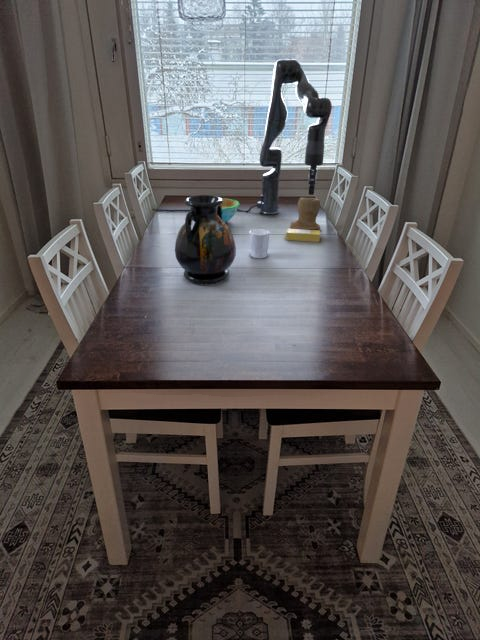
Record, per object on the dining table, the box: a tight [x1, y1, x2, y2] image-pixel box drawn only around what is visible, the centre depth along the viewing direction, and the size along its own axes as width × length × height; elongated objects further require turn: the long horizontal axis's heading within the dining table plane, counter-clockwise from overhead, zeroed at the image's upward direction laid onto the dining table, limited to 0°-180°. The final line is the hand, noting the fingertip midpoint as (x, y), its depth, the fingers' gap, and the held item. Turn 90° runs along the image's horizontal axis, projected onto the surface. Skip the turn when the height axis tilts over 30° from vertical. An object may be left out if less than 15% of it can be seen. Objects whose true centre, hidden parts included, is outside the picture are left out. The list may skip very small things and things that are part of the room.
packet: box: [285, 228, 321, 243], centre depth 187 cm, size 15×6×4 cm, turn 80°
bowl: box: [220, 197, 240, 224], centre depth 207 cm, size 22×22×10 cm
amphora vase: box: [174, 194, 237, 286], centre depth 143 cm, size 22×22×28 cm
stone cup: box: [289, 197, 321, 230], centre depth 198 cm, size 15×12×15 cm
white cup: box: [249, 228, 270, 259], centre depth 166 cm, size 8×8×10 cm
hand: (311, 192), depth 177 cm, fingers open, 8 cm apart
